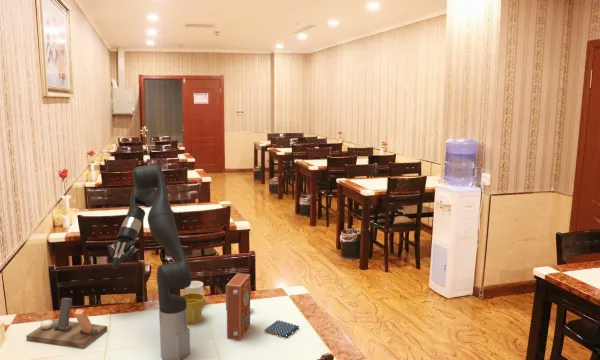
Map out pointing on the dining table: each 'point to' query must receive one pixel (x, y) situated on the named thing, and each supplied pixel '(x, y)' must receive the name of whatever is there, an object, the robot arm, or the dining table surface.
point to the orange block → (83, 321)
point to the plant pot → (194, 306)
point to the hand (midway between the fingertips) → (114, 267)
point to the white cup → (195, 287)
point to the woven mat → (281, 329)
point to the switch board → (67, 335)
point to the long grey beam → (64, 313)
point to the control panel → (238, 306)
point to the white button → (46, 324)
